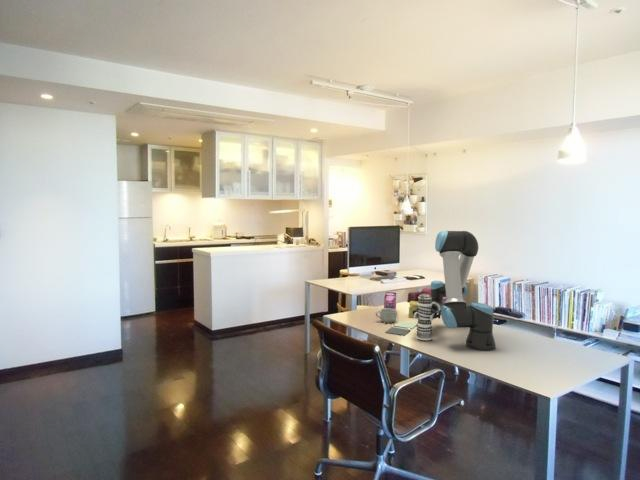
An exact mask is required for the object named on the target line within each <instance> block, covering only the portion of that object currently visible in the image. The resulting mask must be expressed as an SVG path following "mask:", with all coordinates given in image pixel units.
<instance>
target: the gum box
mask: <svg viewBox="0 0 640 480" xmlns="http://www.w3.org/2000/svg"><path fill="white" fill-rule="evenodd" d="M383 308H391V309H395V310H397V292H388V291H387V292H385V293H384V297H383Z"/></svg>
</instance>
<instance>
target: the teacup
mask: <svg viewBox="0 0 640 480" xmlns="http://www.w3.org/2000/svg"><path fill="white" fill-rule="evenodd" d="M397 313H398V311H397V309H396V310H395V309H391V308H384V307H383V308H381V309H380V310H377V311H376V312H375V316H376V318H379V320H381V321H382V322H383V323H385V324H393V323H394V322H395V321H396V320H397ZM378 314H380V316H379V315H378Z"/></svg>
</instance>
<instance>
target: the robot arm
mask: <svg viewBox="0 0 640 480" xmlns="http://www.w3.org/2000/svg"><path fill="white" fill-rule="evenodd" d="M434 246H435V247H434V248H435V251H436V252H437V253H439V256H440V257H441V258H442V265H443V275H444V281H442V280H433V281H431V282H430V287H429V288H430V296H431V297H432V305H433V306H431V307H433V309H431V310H432V311H433V312H431V313H432V315H431V316H430V321H431V322H432V321H434V319H435V320H436V319H437V318H438V319H441V320H442V323H443V324H444V326H445V327H446V328H451V329H461V328H465V329H467V328H469V331H468V335H467V338H466V340H465V345H466V347H468V348H470V349H472V350H473V349H474V350H476V351H492V350H496V346H497V345H496V341H495V338H494V334H493V329H494V327H493V324H494V308H493V307H492V306H490V305H489V304H486V303H481V302H470V304H469V305H467V302H466V300H464V297H465V296H467V294H468V286H467V285H466V283H467V281H468V276H469V274H470V271H471V267H472V264H473V261H474V258H476V256H477V255H478V252H479V242H478V239H477V238H476V236H475V235H474V234H473V233H471V232H470V231H466V230H443V231H439V232H438V233H437V235H436V237H435V243H434ZM444 297H446V300H445V301H444V300H443V299H444ZM417 313H418V312H417V309H416V310H414V311H413V315H414V318H413V320H415V319H418V318H417Z"/></svg>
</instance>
